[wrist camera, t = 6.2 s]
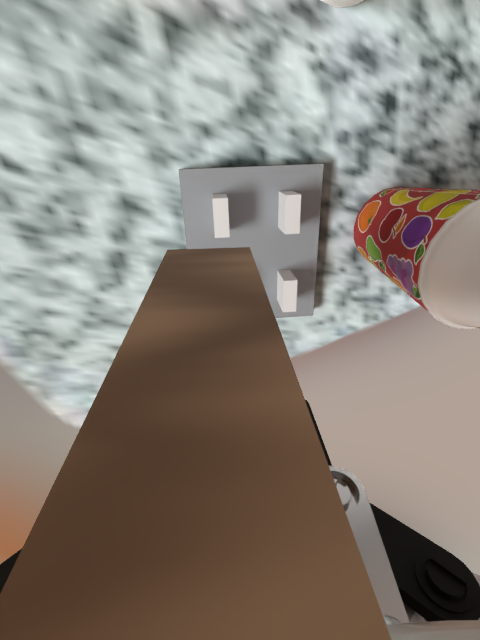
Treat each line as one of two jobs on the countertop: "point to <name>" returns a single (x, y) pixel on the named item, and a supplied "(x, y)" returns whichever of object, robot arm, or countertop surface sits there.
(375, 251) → the smoothie
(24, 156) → the countertop surface
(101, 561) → the door
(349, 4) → the foam cup
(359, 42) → the countertop surface
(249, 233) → the hinge base
